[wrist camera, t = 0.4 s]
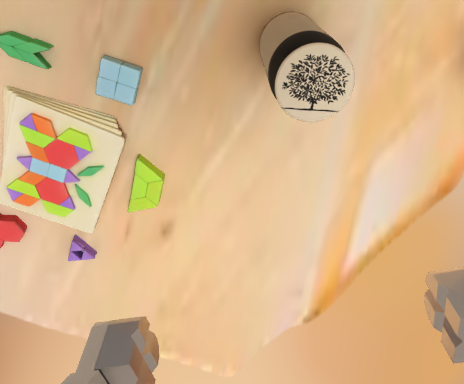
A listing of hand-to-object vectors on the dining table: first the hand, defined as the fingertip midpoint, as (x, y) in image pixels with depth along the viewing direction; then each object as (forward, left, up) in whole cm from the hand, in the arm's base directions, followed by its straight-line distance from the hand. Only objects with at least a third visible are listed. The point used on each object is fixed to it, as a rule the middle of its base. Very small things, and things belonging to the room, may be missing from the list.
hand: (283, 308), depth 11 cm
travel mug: (+3, +6, -46) cm, 47 cm away
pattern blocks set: (+13, -32, -47) cm, 58 cm away
